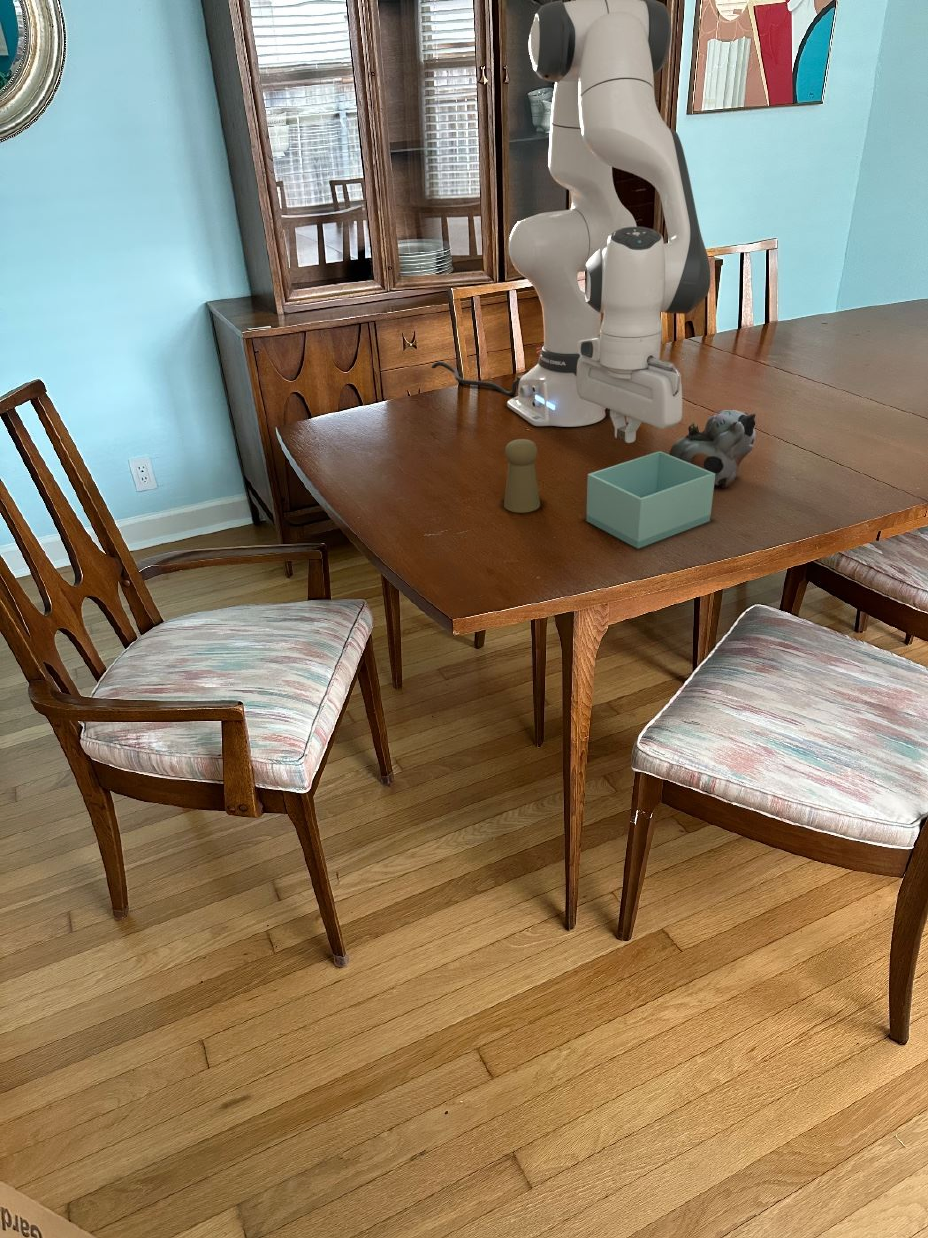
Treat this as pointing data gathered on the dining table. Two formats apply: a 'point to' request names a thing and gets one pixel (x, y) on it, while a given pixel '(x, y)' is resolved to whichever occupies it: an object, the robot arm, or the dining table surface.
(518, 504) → the cork
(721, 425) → the lucky cat figurine
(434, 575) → the dining table surface
